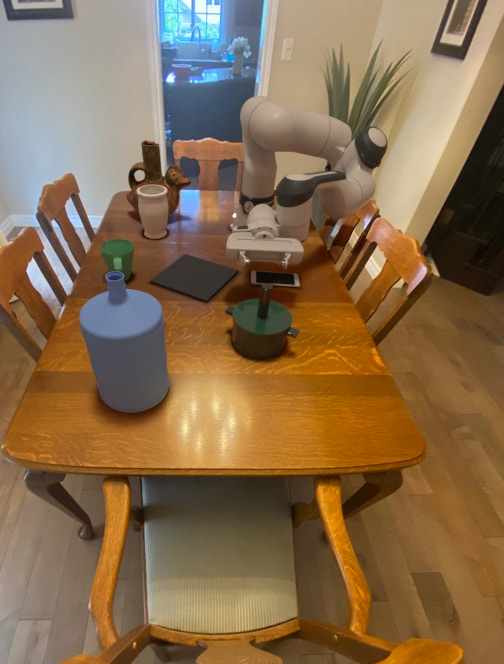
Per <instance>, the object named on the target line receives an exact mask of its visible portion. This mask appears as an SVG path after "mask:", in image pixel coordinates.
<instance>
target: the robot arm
mask: <svg viewBox="0 0 504 664" xmlns="http://www.w3.org/2000/svg"><path fill="white" fill-rule="evenodd" d="M239 121H240V126H241V138H242V142H241V143H242V157H243V168H242V181H241V189H240V191H239V199H238V203H237V205H236V206H235V209H234V213H233V214H232V218H233V223H231V224H230V225H229V229H230V230H231V234H229V236H228V238H227V240H226V245H225V259H226V260H227V261H237V262H239V263H241V264H242V267H243V268H249V267H250V264H251V263H250V262H254V263H255V262H257V263H277V264H278V263H279V264H280V265H279V267H280V270H281V269H284V270H287V268H288V265H289V264H300V263H302V261H303V258H304V254H305V249H304V246H303V243H304V242H305V241H306V240H307V239H308V237H309V232H310V225H311V216H312V208H313V201H314V197H315V194H316V192H319V195H320V197H319V198H320V207H321V209H322V211H323V212H324V213H325V215H326V216H328V217H329V218H331V219H334V220H342V219H346V218H348V217H350V216H352V215H353V214H355V213H356V212H358V211H360V210H361V209H362V208H364V207H365V206H366V205H367V204H368V203H369V202H370V201H371V200H372V198H373V197H374V195H375V192H376V188H377V185H376V181H375V179H374V176H373V172H374V170H375V169H376V168H379V167H380V166H381V163H382V160H383V158H384V157H385V154H386V152H387V150H388V137H387V136H386V134H385V133H384V132H383V131H382V130H381V129H380V128H379V127H377V126H366V127H364V128H363V129H362V130H360V131H359V132H358V133H357V134H356V136H355V137H354V139H353V133H352V132H353V131H352V129H351V127H350V126H349V125H348V124H347V123H346V122H344V121H342V120H340V119H339V118H336V117H333V116H330V115H327V114H323V113H319V112H316V111H312V110H309V109H304V108H303V109H302V108H297V107H290V106H286V105H283V104H281V103H279V102H276V101H274V100H272V99H271V98H269V97H267V96H264V95H256V96H251V97H250V98H248V99H247V100H246V101H245V102H244V104H243V105H242V107H241V110H240V114H239ZM352 139H353V140H352ZM277 152H278V153H294V154H300V155H303V156H304V155H305V156H308V157H314V158H320V159H324V160H326V161H327V164H326V165H325V168H324V170H320V171H313V172H308V173H307V172H306V173H290V174H286V175H285V176H283V177H282V178H281V180H280V181H279V182H278V184H277V185H276V181H277V180H276V178H277V174H278V163H277V159H276V158H277V157H276V153H277ZM275 186H276V187H275ZM275 201H276V203H275Z"/></svg>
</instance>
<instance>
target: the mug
mask: <svg viewBox="0 0 504 664" xmlns="http://www.w3.org/2000/svg"><path fill="white" fill-rule="evenodd" d="M99 251H100V254H101V257H102V259H103V261H104V264H105V266H106V268H107V270H108V272H113V271H118V272H122V273H123V274H124V282H126V281H128V280H129V279H130V277H131V274H132V269H133V263H134V256H135V255H134V253H135V245H134V243H133V242H132V241H130V240H128V239H126V238H125V239H124V238H112V239H108V240H104V242H103V244H102V243H101V244H100V245H99Z"/></svg>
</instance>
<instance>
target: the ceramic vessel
mask: <svg viewBox="0 0 504 664" xmlns="http://www.w3.org/2000/svg"><path fill="white" fill-rule="evenodd" d="M140 145H141V156H142V161H139V162H136V163H134V164H133V165H132V166H131V168H130V169H129V171H128V176H127V180H128V181H127V182H128V186H129V189H130V191H129V192H127V194H126V195H125V198H126V200H127V201H128V203H129V204H130V206H131V207H132V208H133V209H134V210H135V211H136V212H138V213H139V208H138V199H139V196H138V195H137V189H138V188H139V187H141V186H145V185H160V186H164V187H165V188H167V195H166V197H167V201H168V218H169V217H170V216H172V215H173V214H174V213H175V212H176V211H177V209H178V207H179V204H180V191H181V189H184V188H187V187H189V186H190V185H191V182H192V181H191V179H189V178H187V176H186V173H184V170H183V169H182V168H181V166H180V165H177V164H170V165H169V166H168V168H167V169H166V171H165V174H164V175H163V172H162V162H161V150H160V149H161V148H160V144H159V142H157V143H156V142H155V141H153V140H151V141H150V140H147V139H145V140H143V141H141V144H140ZM138 171H142V172H143V173H144V178H143V179H141V180H137V179H136V177H135V173H136V172H138Z"/></svg>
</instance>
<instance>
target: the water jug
mask: <svg viewBox="0 0 504 664" xmlns="http://www.w3.org/2000/svg"><path fill="white" fill-rule="evenodd" d="M104 279H105V281H106V288H107V290H108V291H107V290H106V291H104V292H101V293H99V294H97V295H95V296H93V297H92V298H90V299H88V300H87V301H86V302H85V303H86V304H85V303H84V304H85V305H84V306H83V305H82V307H81V309H80V311H79V315H78V320H79V326H80V327H79V328H80V331H81V336H82V338H83V340H84V342H85V346H86V350H87V353H88V357H89V363H90V366H91V369H92V371H93V373H94V376H95V380H96V383H97V389H98V393H99V396H100V398H101V400H102V401H103V403H104V404H105V405H106V406H107V407H109V408H111V409H112V410H115V411H117V412H121V413H127V414H129V413H130V414H134V413H141V412H145V411H148V410H150V409H153V408H154V407H156V406H157V405H159V404H160V403H161V402H162V401H163V400H164V399H165V398H166V396H167V394H168V393H169V392H168V391H169V388H170V378H169V374H168V354H167V353H168V352H167V348H166V336H165V335H166V334H165V326H166V325H165V315H164V312H163V307H162V304H161V303H160V302H159V300H158V299H157V298H156V297H155V296H153V295H152V294H150V293H148V292H145V291H142V290H139V289H132V288H127V284H126V281H124V274H123V273H122V272H118V271H113V272H110V271H108V272H107V273H106V274H105V276H104Z"/></svg>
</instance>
